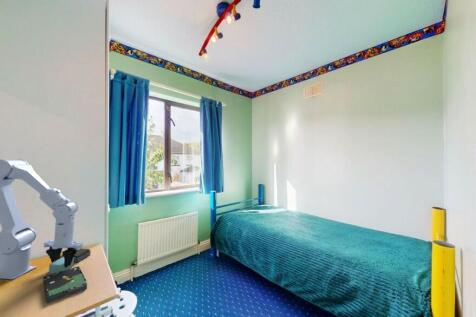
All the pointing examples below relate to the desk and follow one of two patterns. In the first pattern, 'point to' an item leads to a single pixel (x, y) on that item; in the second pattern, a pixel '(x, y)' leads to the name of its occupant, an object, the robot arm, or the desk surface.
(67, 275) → the disk drive
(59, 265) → the block
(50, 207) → the robot arm
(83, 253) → the stand
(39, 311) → the desk surface
